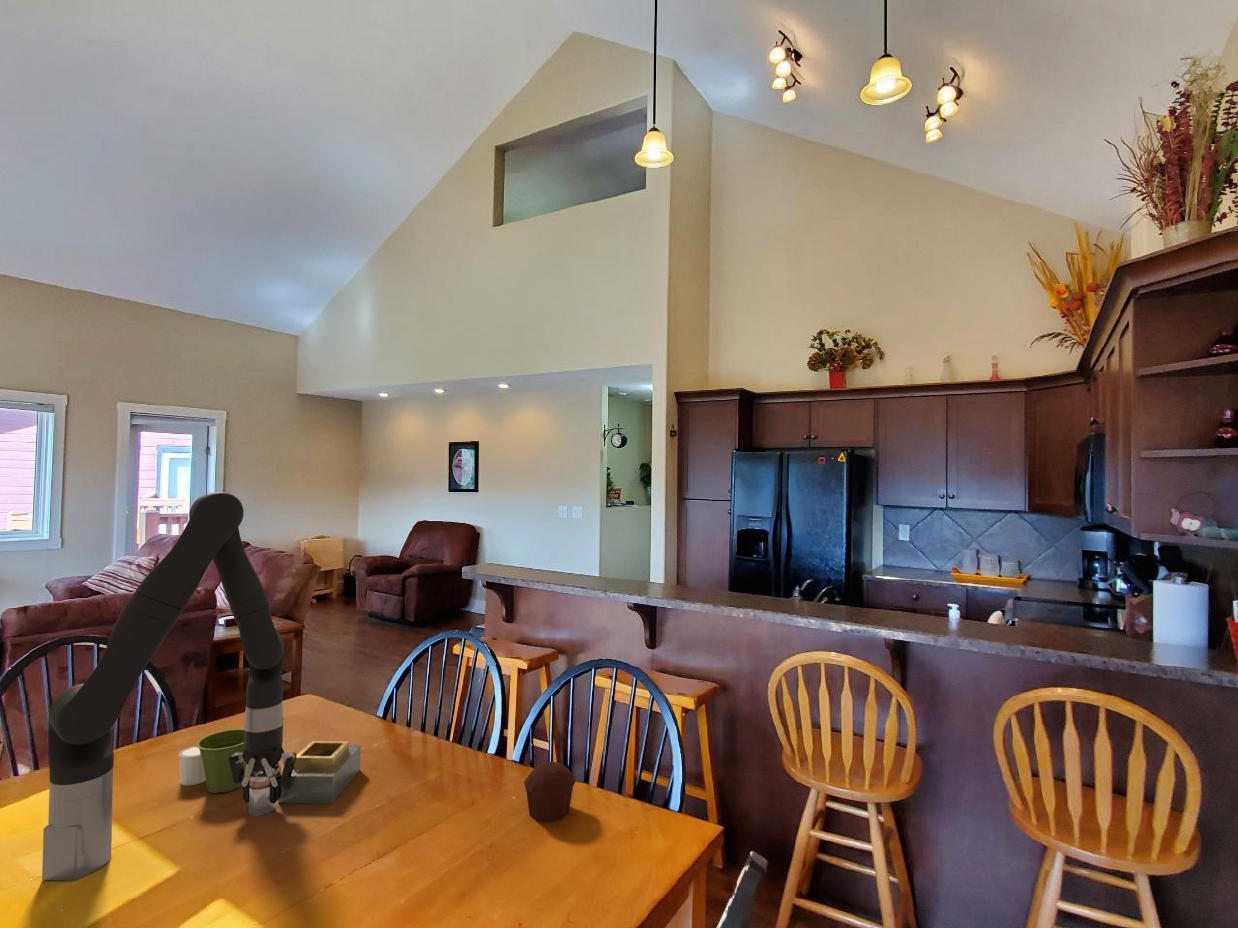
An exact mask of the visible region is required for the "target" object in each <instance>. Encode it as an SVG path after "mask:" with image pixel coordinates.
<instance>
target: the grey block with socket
mask: <svg viewBox="0 0 1238 928" xmlns="http://www.w3.org/2000/svg"><path fill="white" fill-rule="evenodd" d="M361 747H362V746H361V745H352V744H351V745H350V741H343V740H342V741H341V740H339V741H336V740H335V741H334V740H312V741H310V742H309V743H308V744H307V745H306V746H305V747H304V748H302V749H301V750H300V751H299V752H298V753H296V754H297V756H296V760H295V764H294V768H293V772H292V776H291V778H290V779H289V780H288V781H287V782H286V783H285V784H282V788H281V797H280V798H279V799H278V801H277V803H280V804H333V803H334V802H335V800H336V799H337V798H338V796H340V795H341V793H342V792H343V791H344V790H345V789H346V787H347V786H348V785H349V784H350V783H351V781H352V780H353V779H354V778H355V777H356V776H357V774H358V773H359V772H360V770H361V755H362V754H361V750H362V749H361ZM281 774H282V772H281Z"/></svg>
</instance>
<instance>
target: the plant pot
mask: <svg viewBox="0 0 1238 928" xmlns="http://www.w3.org/2000/svg"><path fill="white" fill-rule="evenodd" d="M196 746H197V747H198V748H199V749H200V754H201V757H202V760H203V766H204V772H205V778H206V781H205V784H206V788H207V790H206V791H208V792H209V793H212V794H218V793H229V792H232V791H234V790H237V789H238V788H240V787H241V786H242V784H240V783H234V781H233V776H232V772H231V767H230V762H229V758H230V757H231V756H232V755H234V754H235V753H236V752H240V753H242V752H244V728H234V729H227V730H220V731H216V732H213V733H210V734H208V735H205V736H204V737H202V738H200V739H199V740H198V741H196ZM243 766H244V771H245V772H246V769H247V767H248V765H247V763H246V762H245V760H244V759H243Z"/></svg>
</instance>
